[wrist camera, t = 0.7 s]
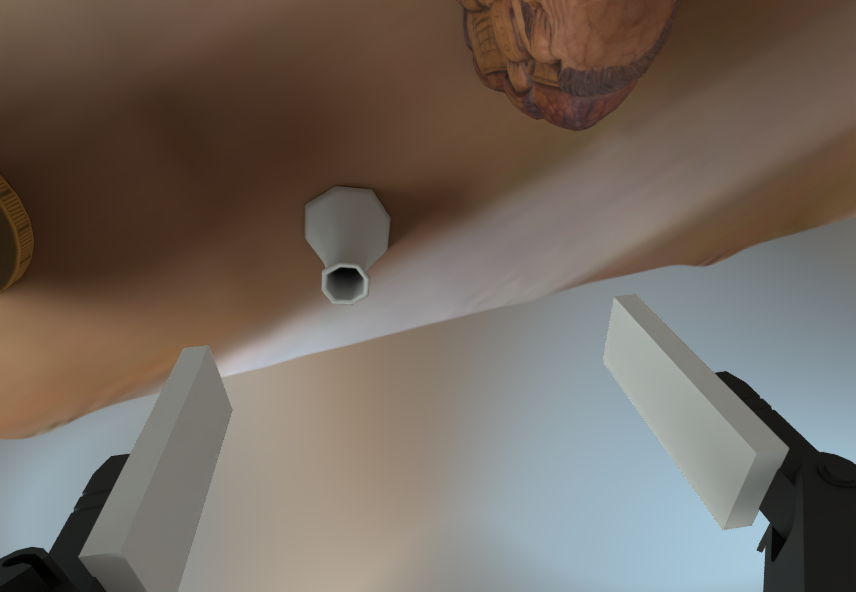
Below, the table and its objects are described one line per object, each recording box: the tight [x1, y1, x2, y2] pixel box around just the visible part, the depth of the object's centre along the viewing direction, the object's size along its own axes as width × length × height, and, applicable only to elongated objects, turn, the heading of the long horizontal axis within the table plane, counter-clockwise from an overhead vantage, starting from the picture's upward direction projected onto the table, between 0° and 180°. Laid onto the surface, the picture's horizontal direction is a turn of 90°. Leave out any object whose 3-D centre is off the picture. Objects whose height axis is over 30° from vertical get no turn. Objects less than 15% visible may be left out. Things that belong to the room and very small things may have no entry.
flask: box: [305, 186, 391, 305], centre depth 35 cm, size 7×7×10 cm
